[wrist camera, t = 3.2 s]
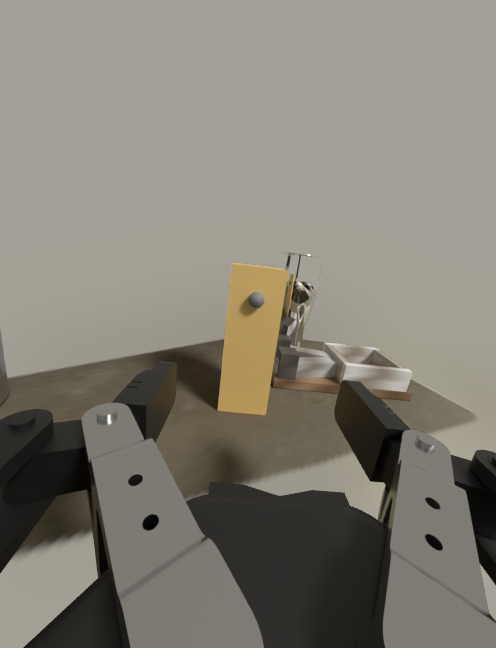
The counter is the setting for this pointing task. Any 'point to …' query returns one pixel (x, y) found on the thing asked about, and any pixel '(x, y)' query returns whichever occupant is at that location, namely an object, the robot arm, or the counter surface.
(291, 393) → the counter surface
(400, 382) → the coupling board
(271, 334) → the yellow knobbed block
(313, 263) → the beer glass
